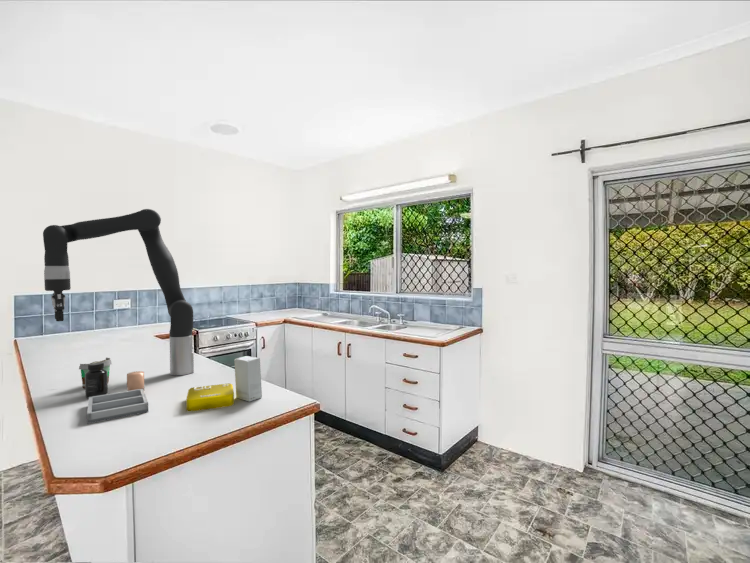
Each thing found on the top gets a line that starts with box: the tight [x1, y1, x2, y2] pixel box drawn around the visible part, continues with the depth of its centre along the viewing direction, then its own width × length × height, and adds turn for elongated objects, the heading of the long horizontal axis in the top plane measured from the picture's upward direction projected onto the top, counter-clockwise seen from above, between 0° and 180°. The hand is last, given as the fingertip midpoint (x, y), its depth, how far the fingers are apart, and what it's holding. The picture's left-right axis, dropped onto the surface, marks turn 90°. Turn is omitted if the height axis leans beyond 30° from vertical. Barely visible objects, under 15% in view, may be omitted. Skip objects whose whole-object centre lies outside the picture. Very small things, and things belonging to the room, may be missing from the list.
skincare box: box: [233, 355, 263, 402], centre depth 136 cm, size 8×6×15 cm
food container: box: [78, 357, 113, 389], centre depth 152 cm, size 12×6×10 cm, turn 168°
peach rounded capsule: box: [126, 370, 145, 391], centre depth 140 cm, size 6×6×8 cm
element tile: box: [185, 382, 235, 412], centre depth 132 cm, size 15×15×5 cm
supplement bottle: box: [84, 362, 109, 399], centre depth 139 cm, size 7×7×12 cm
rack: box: [86, 388, 149, 425], centre depth 125 cm, size 16×19×3 cm
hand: (59, 320), depth 142 cm, fingers open, 8 cm apart
